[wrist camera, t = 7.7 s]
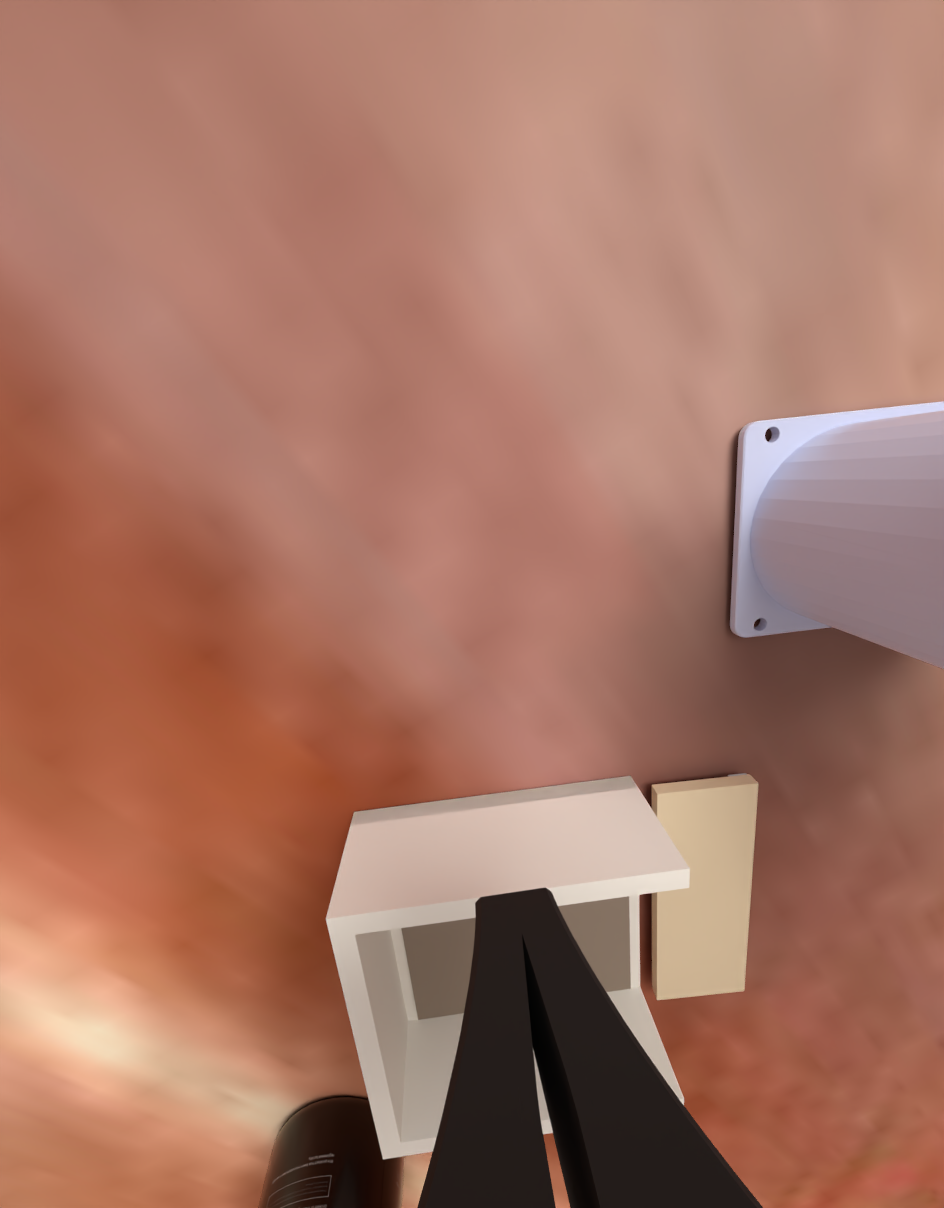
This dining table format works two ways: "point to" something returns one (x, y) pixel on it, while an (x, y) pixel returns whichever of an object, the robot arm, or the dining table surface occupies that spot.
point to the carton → (447, 925)
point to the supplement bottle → (332, 1160)
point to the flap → (705, 886)
